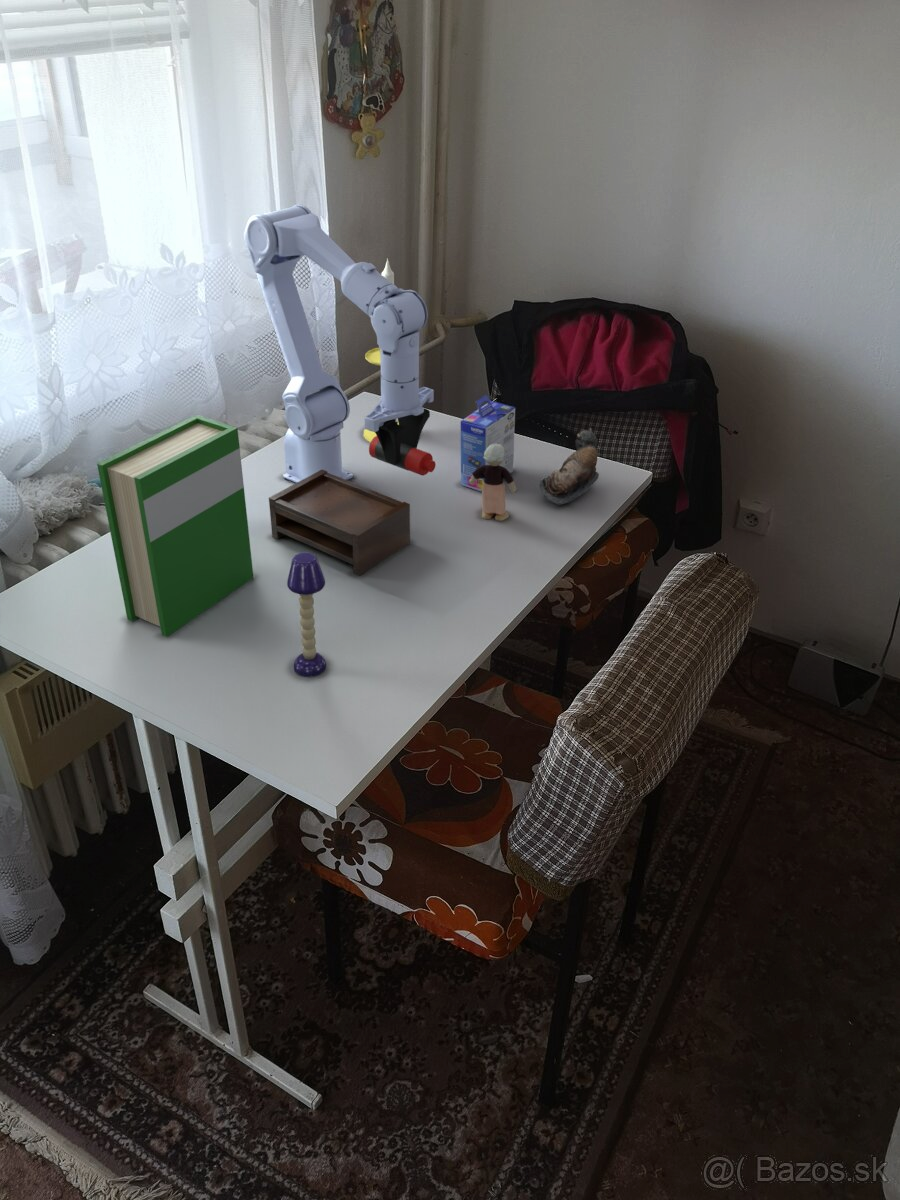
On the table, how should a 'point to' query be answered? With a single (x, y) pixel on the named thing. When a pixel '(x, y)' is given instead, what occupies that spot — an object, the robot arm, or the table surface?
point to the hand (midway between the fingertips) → (400, 457)
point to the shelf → (341, 519)
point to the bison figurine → (574, 472)
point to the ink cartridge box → (486, 438)
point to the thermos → (406, 457)
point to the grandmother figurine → (494, 483)
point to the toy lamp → (307, 610)
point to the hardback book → (178, 521)
